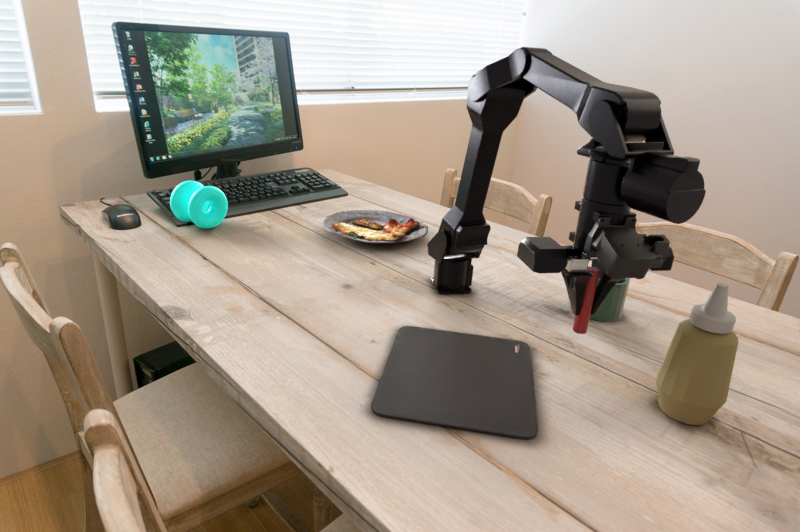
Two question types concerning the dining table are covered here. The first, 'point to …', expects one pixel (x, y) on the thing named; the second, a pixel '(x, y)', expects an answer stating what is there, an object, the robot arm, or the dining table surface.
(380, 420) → the dining table surface
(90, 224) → the dining table surface
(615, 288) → the cup
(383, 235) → the food plate
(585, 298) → the red wooden peg
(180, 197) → the turquoise spool
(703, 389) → the squeeze bottle
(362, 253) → the dining table surface
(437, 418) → the mouse pad
